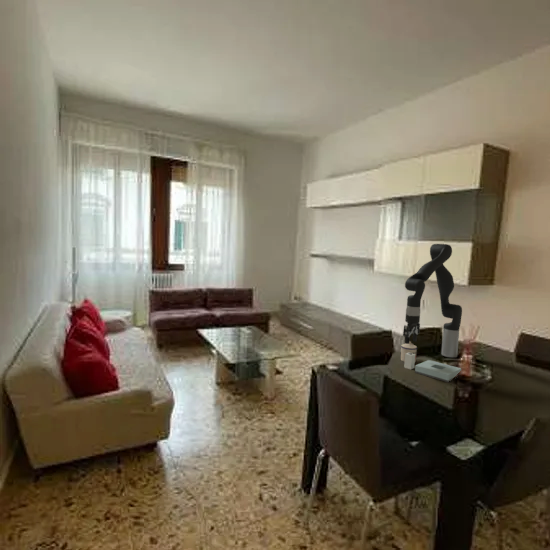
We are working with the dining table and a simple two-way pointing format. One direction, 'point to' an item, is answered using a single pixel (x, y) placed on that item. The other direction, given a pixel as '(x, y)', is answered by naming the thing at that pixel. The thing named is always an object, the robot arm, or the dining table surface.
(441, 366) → the outlet block
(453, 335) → the robot arm
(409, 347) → the teacup with lid
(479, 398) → the dining table surface
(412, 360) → the cream block with knob
